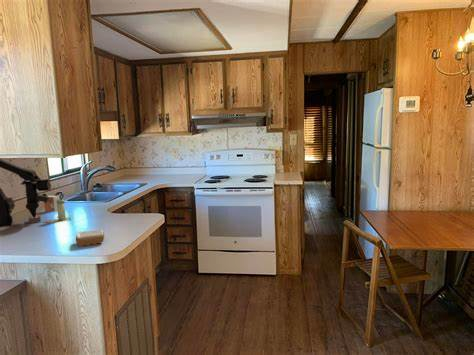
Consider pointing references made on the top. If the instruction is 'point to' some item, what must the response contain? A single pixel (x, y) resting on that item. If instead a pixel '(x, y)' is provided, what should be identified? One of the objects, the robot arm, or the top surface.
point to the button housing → (34, 219)
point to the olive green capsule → (61, 209)
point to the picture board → (56, 220)
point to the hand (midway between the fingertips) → (34, 217)
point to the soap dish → (89, 237)
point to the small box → (51, 204)
